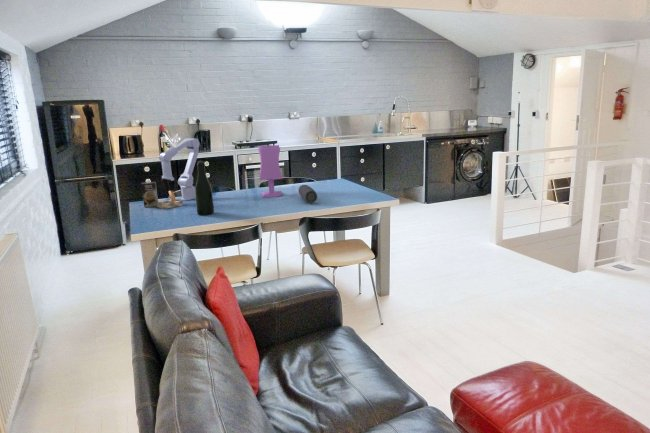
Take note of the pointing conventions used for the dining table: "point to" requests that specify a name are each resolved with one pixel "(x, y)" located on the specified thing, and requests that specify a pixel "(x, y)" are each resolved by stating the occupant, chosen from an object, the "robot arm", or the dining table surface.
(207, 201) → the beer bottle
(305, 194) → the bluetooth speaker
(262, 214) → the dining table surface
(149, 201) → the coffee box
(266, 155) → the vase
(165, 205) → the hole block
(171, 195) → the dowel
